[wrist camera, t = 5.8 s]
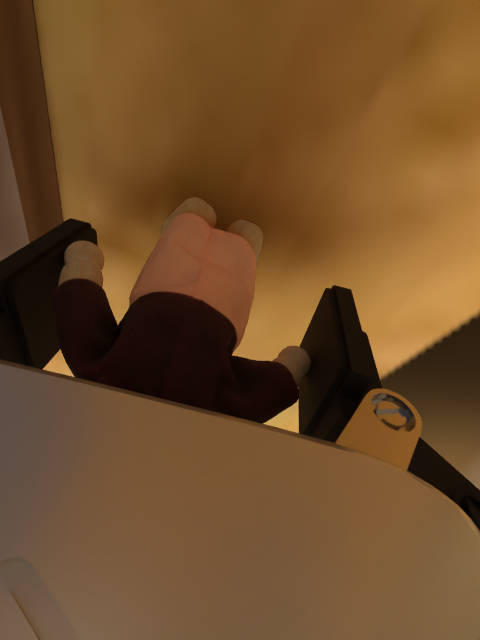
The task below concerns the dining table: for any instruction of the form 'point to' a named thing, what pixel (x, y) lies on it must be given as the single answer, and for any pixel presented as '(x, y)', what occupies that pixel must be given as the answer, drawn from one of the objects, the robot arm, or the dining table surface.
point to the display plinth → (24, 135)
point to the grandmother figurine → (178, 321)
